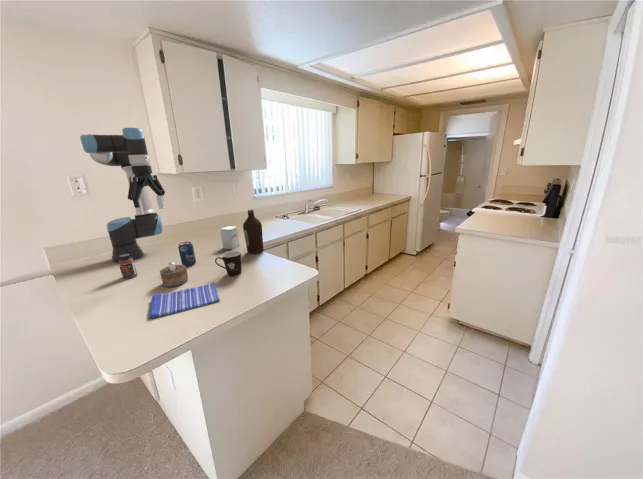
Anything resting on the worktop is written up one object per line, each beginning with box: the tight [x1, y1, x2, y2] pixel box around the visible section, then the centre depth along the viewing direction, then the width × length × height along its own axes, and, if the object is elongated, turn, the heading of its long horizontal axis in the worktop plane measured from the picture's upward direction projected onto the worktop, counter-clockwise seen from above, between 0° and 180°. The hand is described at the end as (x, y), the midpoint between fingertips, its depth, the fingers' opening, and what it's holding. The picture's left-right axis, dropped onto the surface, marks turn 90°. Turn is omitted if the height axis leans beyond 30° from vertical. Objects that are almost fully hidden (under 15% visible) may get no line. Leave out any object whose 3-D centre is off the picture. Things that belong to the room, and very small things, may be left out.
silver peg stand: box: [162, 261, 189, 289], centre depth 119 cm, size 10×10×10 cm
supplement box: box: [219, 226, 240, 250], centre depth 166 cm, size 7×7×13 cm
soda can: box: [178, 241, 197, 267], centre depth 140 cm, size 7×7×12 cm
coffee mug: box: [214, 250, 242, 277], centre depth 127 cm, size 12×9×10 cm
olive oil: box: [242, 209, 264, 255], centre depth 153 cm, size 11×11×25 cm
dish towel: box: [149, 281, 220, 319], centre depth 104 cm, size 17×24×3 cm
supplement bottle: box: [117, 254, 138, 280], centre depth 128 cm, size 6×6×11 cm
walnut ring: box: [159, 264, 189, 285], centre depth 120 cm, size 10×10×5 cm
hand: (151, 211), depth 125 cm, fingers open, 13 cm apart
